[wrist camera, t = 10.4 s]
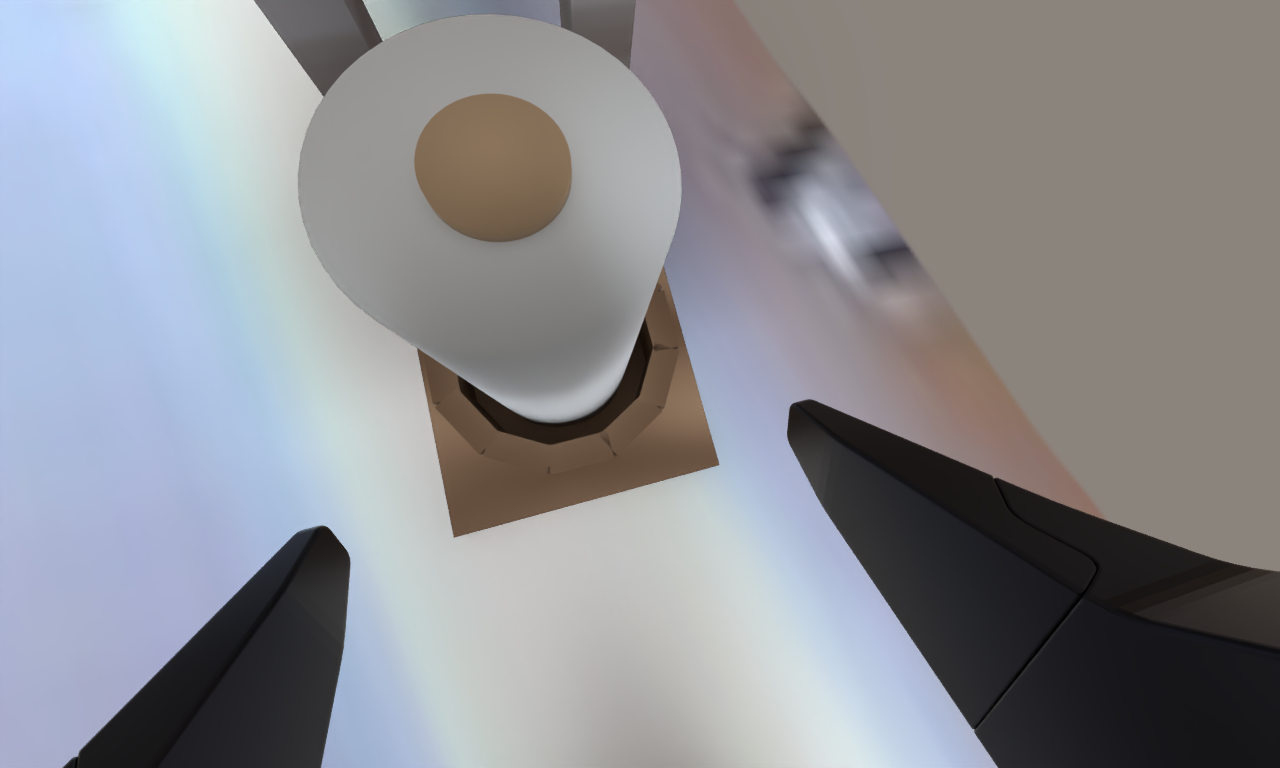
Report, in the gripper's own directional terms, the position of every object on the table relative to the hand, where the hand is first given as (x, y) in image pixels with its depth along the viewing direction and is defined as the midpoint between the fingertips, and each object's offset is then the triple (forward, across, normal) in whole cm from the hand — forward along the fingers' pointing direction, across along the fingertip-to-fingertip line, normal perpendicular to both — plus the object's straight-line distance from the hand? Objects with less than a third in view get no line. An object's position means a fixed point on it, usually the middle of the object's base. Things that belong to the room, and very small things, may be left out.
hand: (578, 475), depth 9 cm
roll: (+11, 0, +4) cm, 11 cm away
